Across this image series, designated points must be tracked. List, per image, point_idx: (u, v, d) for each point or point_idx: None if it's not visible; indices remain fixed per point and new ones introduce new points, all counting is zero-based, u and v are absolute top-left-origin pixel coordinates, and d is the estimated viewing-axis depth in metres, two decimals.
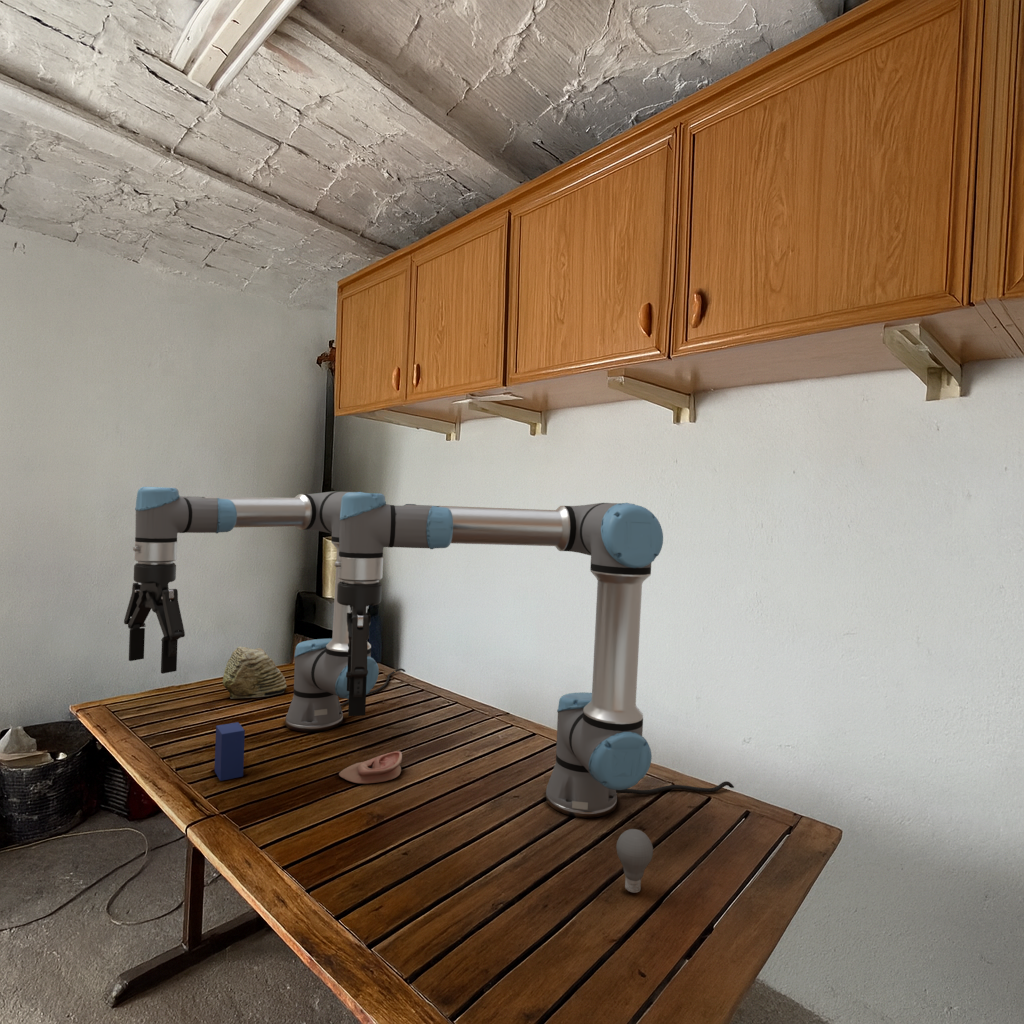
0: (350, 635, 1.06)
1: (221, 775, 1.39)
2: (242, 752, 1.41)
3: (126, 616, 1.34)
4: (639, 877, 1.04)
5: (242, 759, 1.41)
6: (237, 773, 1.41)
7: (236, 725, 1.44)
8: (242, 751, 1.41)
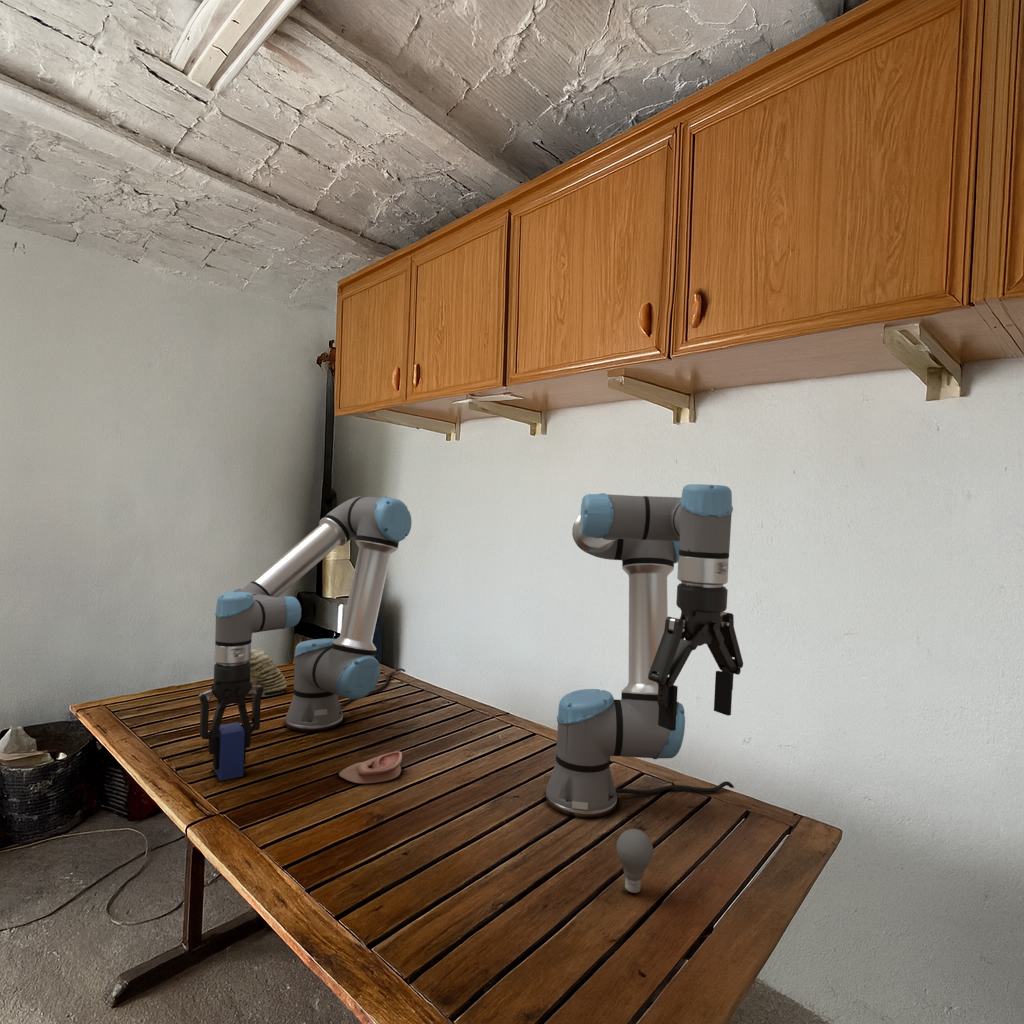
0: None
1: (221, 775, 1.39)
2: (242, 752, 1.41)
3: (204, 731, 1.38)
4: (639, 877, 1.04)
5: (242, 759, 1.41)
6: (237, 773, 1.41)
7: (236, 725, 1.44)
8: (242, 751, 1.41)
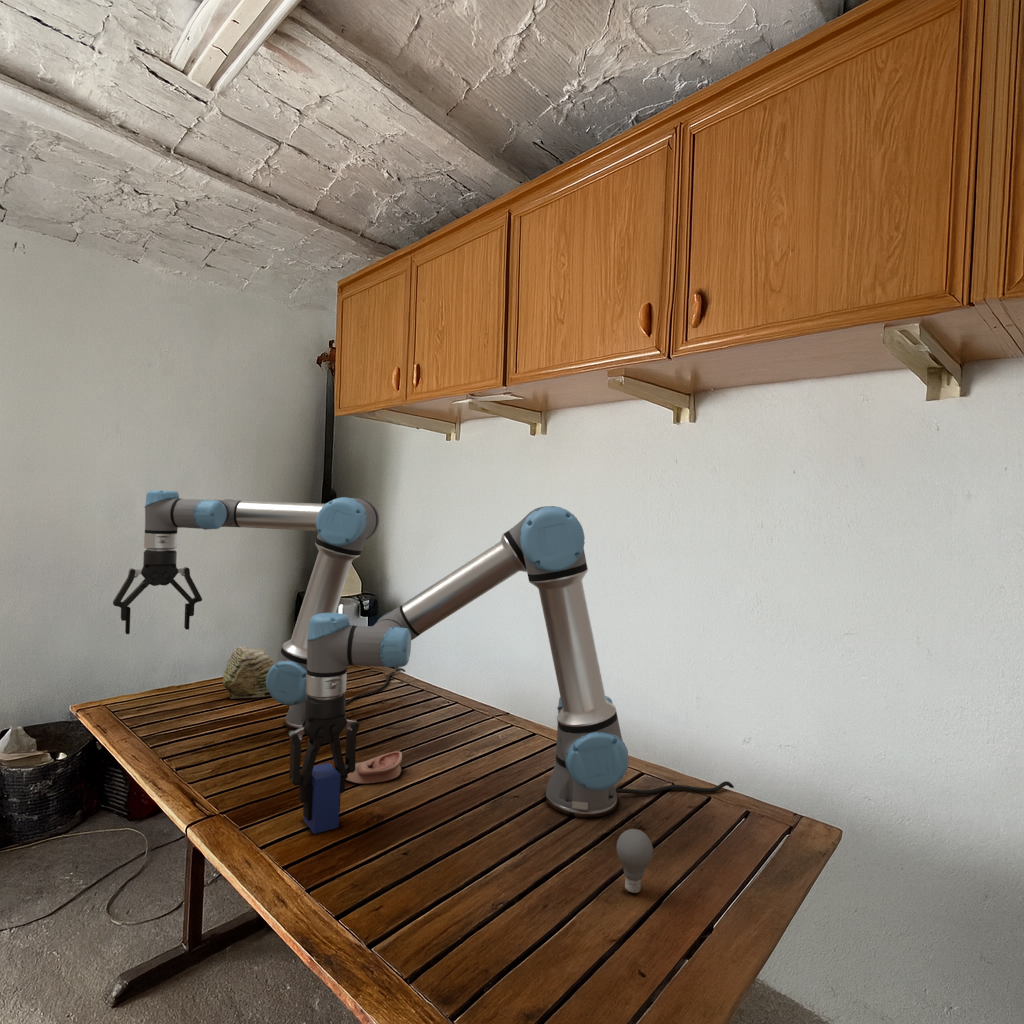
0: (340, 743, 1.23)
1: (315, 827, 1.19)
2: (337, 799, 1.22)
3: (118, 599, 1.59)
4: (639, 877, 1.04)
5: (337, 807, 1.22)
6: (332, 824, 1.21)
7: (328, 767, 1.24)
8: (337, 798, 1.22)
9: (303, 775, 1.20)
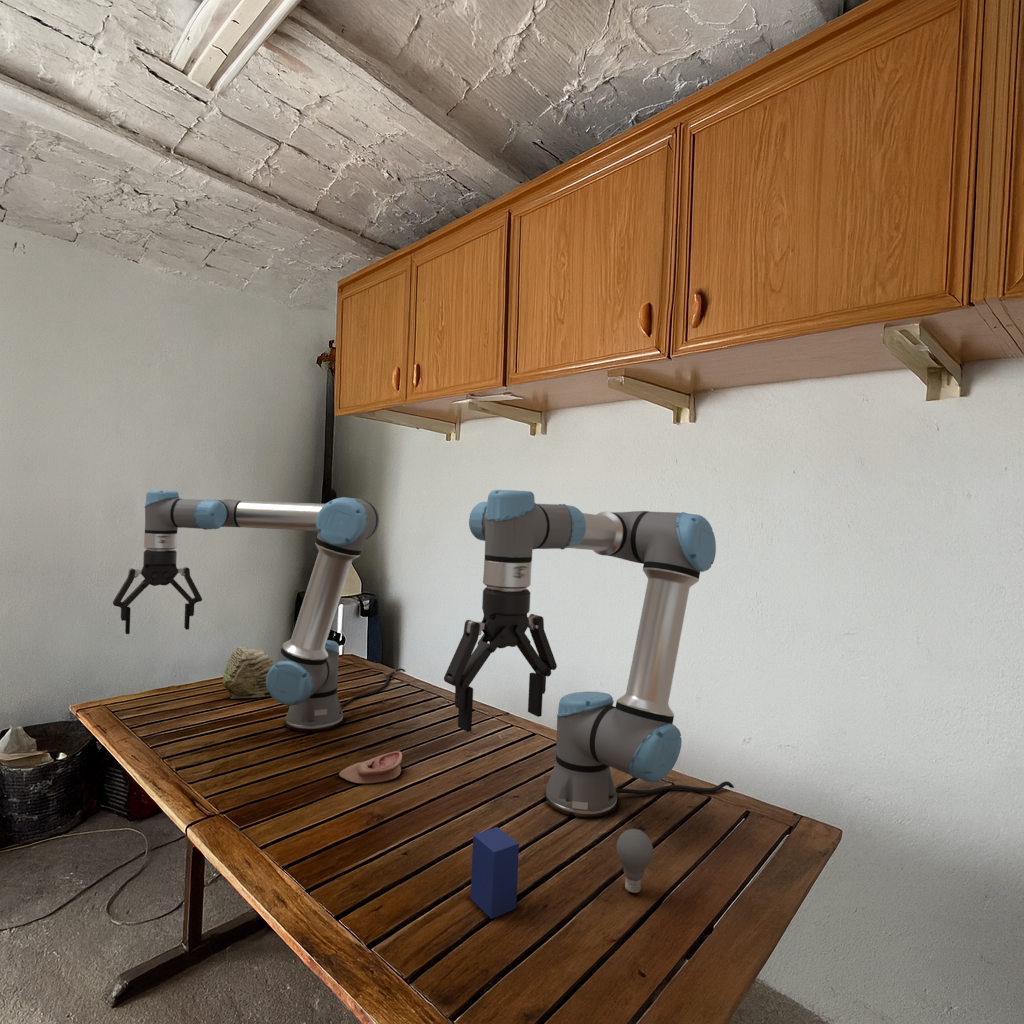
0: (529, 641, 1.01)
1: (492, 910, 0.97)
2: (516, 875, 1.00)
3: (118, 599, 1.59)
4: (639, 877, 1.04)
5: (515, 884, 1.00)
6: (509, 905, 0.99)
7: (500, 833, 1.02)
8: (516, 873, 1.00)
9: (465, 674, 0.95)
